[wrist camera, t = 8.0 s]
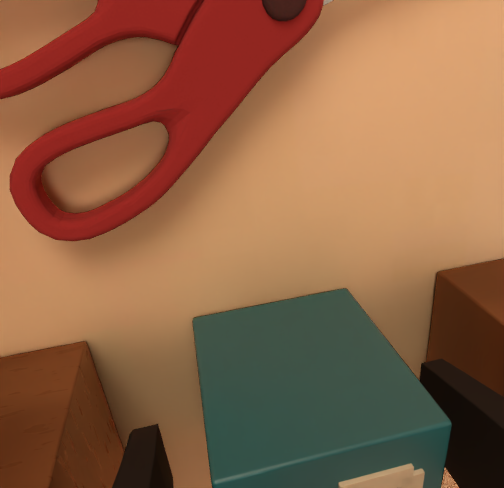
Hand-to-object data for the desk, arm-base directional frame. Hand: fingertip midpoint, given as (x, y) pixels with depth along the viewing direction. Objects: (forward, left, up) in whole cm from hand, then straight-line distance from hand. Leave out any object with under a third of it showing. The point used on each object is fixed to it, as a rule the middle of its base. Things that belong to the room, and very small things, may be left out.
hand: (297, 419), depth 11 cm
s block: (0, 0, -2) cm, 2 cm away
